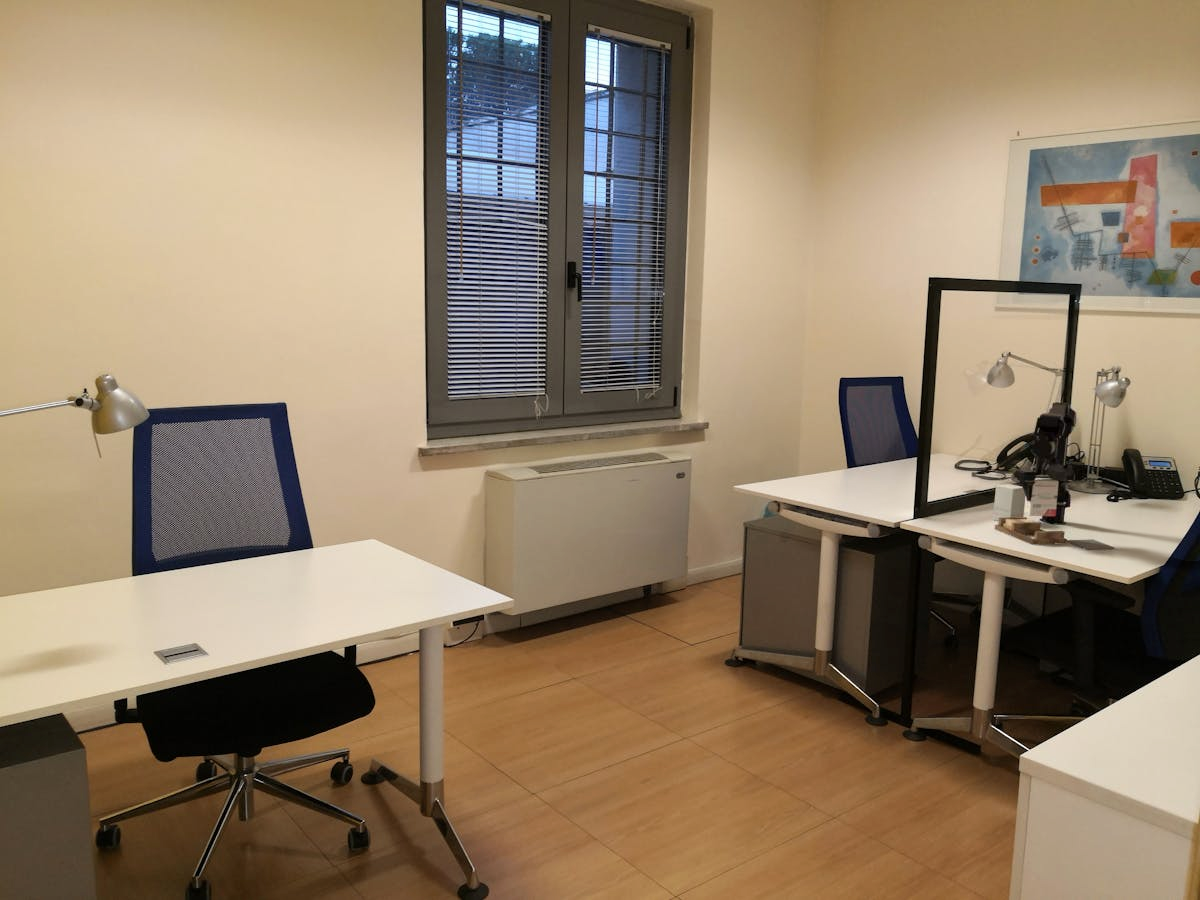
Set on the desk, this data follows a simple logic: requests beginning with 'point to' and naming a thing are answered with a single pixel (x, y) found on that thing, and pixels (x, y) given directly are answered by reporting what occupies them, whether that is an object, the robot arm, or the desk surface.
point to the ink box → (1042, 498)
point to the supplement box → (1009, 501)
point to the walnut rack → (1029, 531)
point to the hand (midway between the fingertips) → (1041, 500)
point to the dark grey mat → (1090, 544)
